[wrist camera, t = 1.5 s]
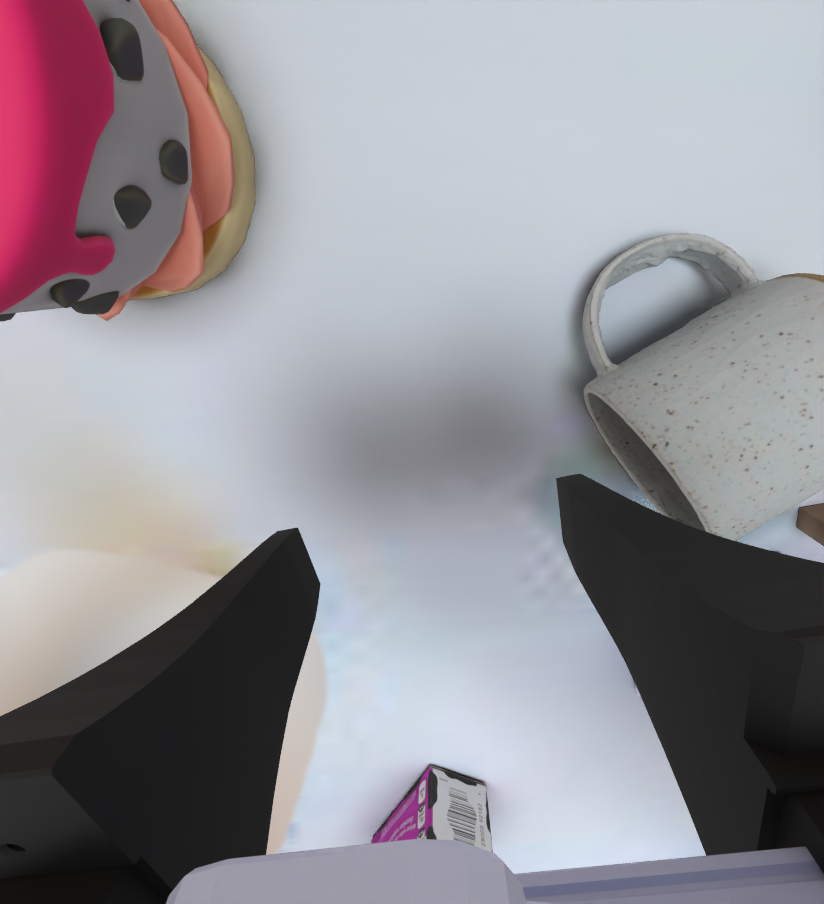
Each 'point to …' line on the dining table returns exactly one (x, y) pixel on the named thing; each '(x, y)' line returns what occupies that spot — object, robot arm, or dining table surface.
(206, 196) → the cake
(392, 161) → the dining table surface
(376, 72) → the dining table surface
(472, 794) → the candy bar box
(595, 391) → the ceramic mug
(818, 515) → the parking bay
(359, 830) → the dining table surface
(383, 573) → the dining table surface
